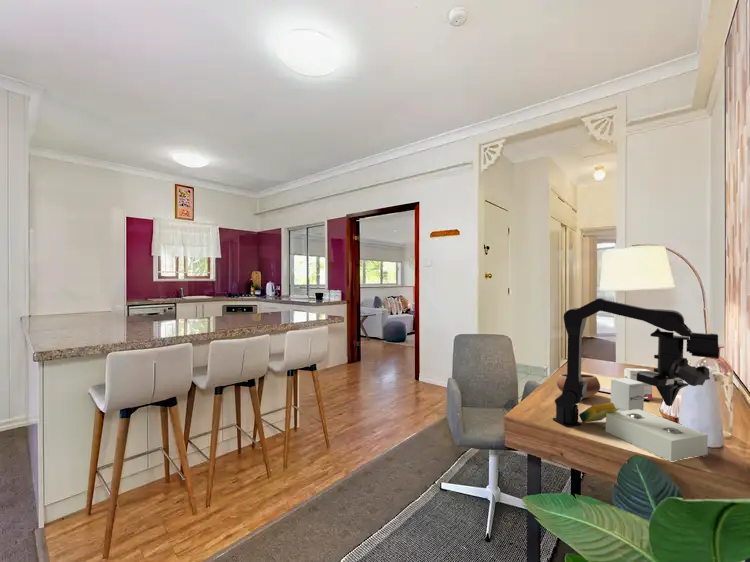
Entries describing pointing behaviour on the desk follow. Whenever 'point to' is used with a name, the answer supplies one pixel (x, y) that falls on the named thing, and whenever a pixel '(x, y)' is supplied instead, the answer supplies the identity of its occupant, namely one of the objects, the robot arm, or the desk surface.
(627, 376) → the ink box
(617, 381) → the supplement box
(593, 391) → the bowl
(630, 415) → the peg near arm
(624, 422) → the block
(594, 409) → the crayon box
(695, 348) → the robot arm
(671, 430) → the peg far side
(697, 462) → the desk surface
